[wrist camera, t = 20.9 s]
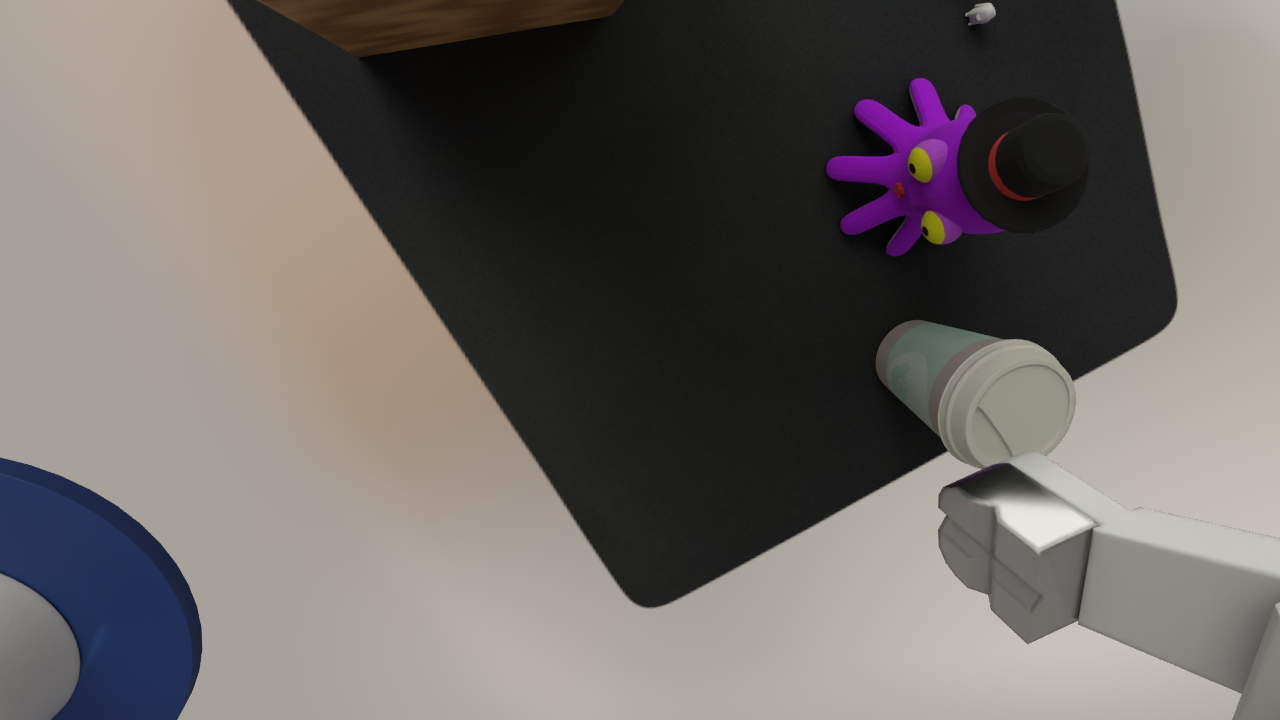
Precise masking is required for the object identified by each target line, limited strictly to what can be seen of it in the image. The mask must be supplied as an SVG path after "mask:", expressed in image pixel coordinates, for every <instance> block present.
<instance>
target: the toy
mask: <svg viewBox="0 0 1280 720" xmlns="http://www.w3.org/2000/svg"><path fill="white" fill-rule="evenodd" d="M909 91H910V96H911V100H912V103H913V105H914V108H915V111H916V113H917V116H918V120H919V123H920V126H914V125H912V124H910V123H908V122H906V121H904V120H903V119H901V118H900V117H898V116H897V115H895V114H894V113H893V112H891V111H890V110H888V109H887V108H886V107H884V106H883V105H881V104H879V103H878V102H876V101H873V100H868V99H866V100H862V101H860V102H859V103H858V104H857V105H856V106H855V108H854V114H855V116H856V118H857V119H858V120H859V121H860V122H861V123H863V124H864V125H865V126H866V127H868V128H869V129H870V130H872V131H873V132H874V133H876V134H877V135H878V136H880V137H881V138H882V139H883V140H885V141H886V142H887V143H888V144H889V145H890V146H891V147H892V148H893V151H894V153H893V154H891V155H890V156H882V157H864V156H839V157H834V158H832V159H830V161H829V162H828V163H827V166H826V172H827V174H828V176H829V177H831V178H832V179H835V180H839V181H849V182H865V183H874V184H879V185H883V186H886V187H887V188H888V189H889V190H888V191H887V193H885V194H884V195H882V196H881V197H879V198H878V199H876V200H874V201H872V202H870V203H868V204H866V205H864V206H862V207H860V208H858V209H857V210H855V211H853V212H851V213H849V214H848V215H846V216H845V217H844V218H843V219H842V220H841V222H840V228H841V230H842V231H843V232H844V233H846V234H848V235H855V234H859V233H862V232H864V231H867V230H869V229H871V228H873V227H875V226H877V225H879V224H881V223H884V222H886V221H888V220H891V219H893V218H896V217H899V216H903V215H907V216H906V218H905V220H904V221H903V223H902V224H901V226H900V227H899V228H898V230H897V231H896V232H895V234H894V235H893V236H892V238H891V239H890V241H889V243H888V244H887V247H886V253H887V254H888V255H890V256H899V255H902V254H903V253H905V252H906V251H908V250H909V249H910V248H911V247H912V245H913V244H914V243H915V242H916V240H917V239H918V238H919V237H920V235H921V234H922V233H923V235H924V237H925V238H926V239H928V240H929V241H930V242H932V243H935V244H948V243H951V242H953V241H954V240H956V239H957V238H958V237H959V236H960V235H961V234H962V233H967V234H992V233H998V232H1002V231H1006V230H1007V231H1011V232H1014V233H1034V232H1038V231H1042V230H1045V229H1049V228H1051V227H1053V226H1054V225H1056V224H1058V223H1059V222H1061V221H1063V220H1064V219H1065V218H1066V217H1067V216H1068V215H1069V214H1070V213H1071V212H1072V211H1073V210H1074V209H1075V208H1076V207H1077V206H1078V204H1079V202H1080V200H1081V198H1082V197H1083V195H1084V193H1085V191H1086V187H1087V183H1088V179H1089V175H1090V155H1091V144H1090V140H1089V137H1088V134H1087V133H1086V131H1085V129H1084V127H1083V126H1082V125H1081V124H1080V123H1079V122H1078V121H1077V120H1075V119H1073V118H1072V117H1070V116H1068V115H1067V114H1066V113H1065V112H1064V111H1063V110H1062V109H1060V108H1058V107H1057V106H1055V105H1053V104H1052V103H1050V102H1048V101H1045V100H1041V99H1038V98H1035V97H1016V96H1015V97H1011V98H1007V99H1003V100H1000V101H996V102H995V103H993V104H991V105H990V106H988V107H986V108H984V109H983V110H981V111H980V112H979V113H978V114H977V115H976V114H975V111H974V110H973V108H972V107H971V106H969V105H962V106H961V107H960V108H959V109H958V111H957V113H956V116H955V119H954V120H952V121H950V120H949V119H948V117H947V116H946V114H945V112H944V110H943V107H942V105H941V102H940V100H939V97H938V95H937V92H936V90H935V88H934V86H933V85H932V84H931V83H930V82H929V81H928V80H926V79H924V78H918V79H915V80H913V81H912V82H911V83H910V88H909Z"/></svg>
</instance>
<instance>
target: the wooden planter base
mask: <svg viewBox="0 0 1280 720" xmlns="http://www.w3.org/2000/svg"><path fill="white" fill-rule="evenodd" d="M257 1H259V2H261V3H262V4H264V5H266V6H268V7H270V8H271V9H273V10H275V11H277V12H278V13H280V14H282V15H284V16H286V17H287V18H289V19H291V20H293V21H294V22H296V23H298V24H300V25H302V26H303V27H305V28H307V29H309V30H310V31H312V32H314V33H316V34H318V35H319V36H321V37H323V38H325V39H327V40H328V41H330V42H332V43H334V44H335V45H337V46H339V47H341V48H343V49H344V50H346V51H348V52H350V53H351V54H353V55H355V56H357V57H365V56H371V55H377V54H383V53H389V52H395V51H401V50H407V49H413V48H419V47H426V46H432V45H438V44H444V43H450V42H456V41H462V40H468V39H474V38H480V37H486V36H493V35H499V34H505V33H511V32H517V31H523V30H529V29H535V28H541V27H547V26H553V25H559V24H566V23H572V22H578V21H584V20H590V19H596V18H602V17H608V16H612V14H613V13H614V12H615V11H616V10H617V9H618V8H619V6H620V5H621V4H622V3H623V2H624V1H625V0H257Z"/></svg>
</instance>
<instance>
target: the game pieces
mask: <svg viewBox="0 0 1280 720" xmlns="http://www.w3.org/2000/svg"><path fill="white" fill-rule="evenodd" d="M995 15H996V13H995V9H994V7H993V5H992V4H991V3H984V4H976V5H975V8H974V9H973V10H971V11H970V12H968V13H966V14H965V17H967V16H969V19H970V23H968V25H972V24H979V23H981V24H984V23H986V22H988V21H989V20H991V19H992V18H993V17H994V16H995Z"/></svg>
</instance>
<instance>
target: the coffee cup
mask: <svg viewBox="0 0 1280 720" xmlns="http://www.w3.org/2000/svg"><path fill="white" fill-rule="evenodd" d="M876 370H877V374H878V376H879V378H880V380H881V382H882V383H883V384H884V385H885V386H886V387H887V388H888V389H889V390H890V391H891V392H892V393H893V394H895V395H896V396H897V397H898V398H899V399H900V400H901V401H902V402H903V403H904V404H905V405H906V406H907V407H908V408H909V409H910V410H912V411H913V412H914V413H915V414H916V415H917V416H918V417H919V418H920V419H921V420H922V421H923V422H924V423H925V424H926V425H928V426H929V427H930V428H931V429H932V430H933V431H934V432H935V433H936V434H937V435H938V436H939V437H940V438H941V439H942V441H943V443H944V445H945V447H946V448H947V450H948V451H949V452H950V453H951V454H952V455H953V456H954V457H955V458H957V459H958V460H960V461H962V462H964V463H966V464H969V465H971V466H974V467H977V468H981V469H984V468H986V467H989V466H991V465H993V464H998V463H999V462H1001V461H1003V460H1006V459H1008V458H1010V457H1013V456H1015V455H1017V454H1019V453H1022V452H1024V451H1026V450H1032V451H1036V452H1039V453H1041V454H1043V455H1044V456H1047V455H1048V454H1049V453H1050V452H1052V450H1054V448H1055V447H1056V446H1057V445H1058V444H1059V443H1060V441H1061V440H1062V439H1063V437H1064V436H1065V434H1066V432H1067V430H1068V429H1069V426H1070V424H1071V421H1072V419H1073V415H1074V411H1075V404H1076V394H1075V388H1074V384H1073V381H1072V379H1071V377H1070V375H1069V374H1068V373H1067V371H1066V370H1065V369H1064V368H1063V367H1062V366H1061V365H1060V363H1059V362H1058V361H1057V359H1056V358H1055V357H1054V356H1053V355H1052V354H1050V353H1049V352H1048V351H1046V350H1045V349H1043V348H1042V347H1041V346H1039V345H1037V344H1035V343H1033V342H1030V341H1026V340H1019V339H1011V340H1004V339H999V338H995V337H991V336H987V335H983V334H978V333H974V332H970V331H966V330H962V329H957V328H953V327H949V326H945V325H940V324H936V323H932V322H927V321H923V320H912V321H907V322H904V323H902V324H900V325H898V326H897V327H895V328H894V329H892V330H891V331H890V332H889V333H888V334H887V335H886V337H885V338H884V339H883V341H882V342H881V344H880V346H879V349H878V352H877V355H876Z"/></svg>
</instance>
